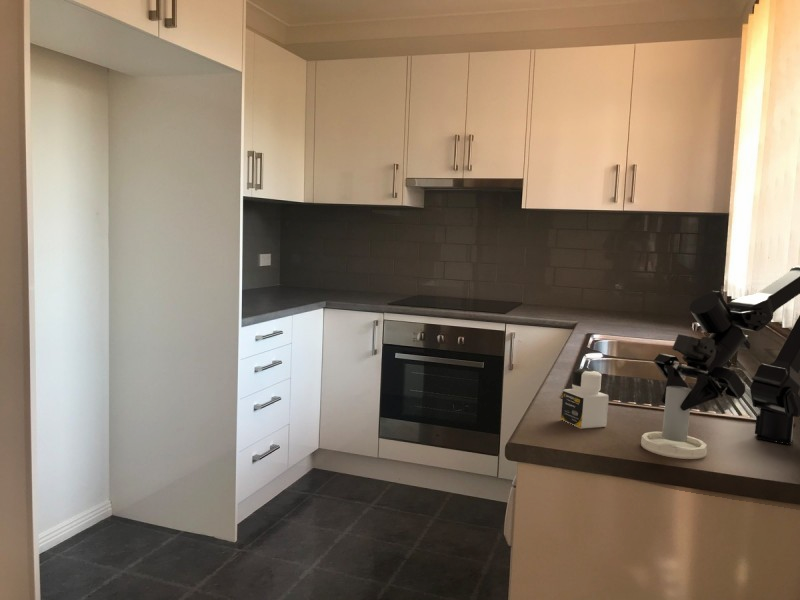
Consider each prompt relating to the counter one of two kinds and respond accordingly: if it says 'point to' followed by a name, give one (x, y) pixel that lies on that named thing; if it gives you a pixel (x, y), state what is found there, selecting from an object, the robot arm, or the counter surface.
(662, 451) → the saucer
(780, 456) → the counter surface
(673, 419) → the grey cylinder
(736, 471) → the counter surface
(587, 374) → the medicine bottle
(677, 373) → the robot arm
